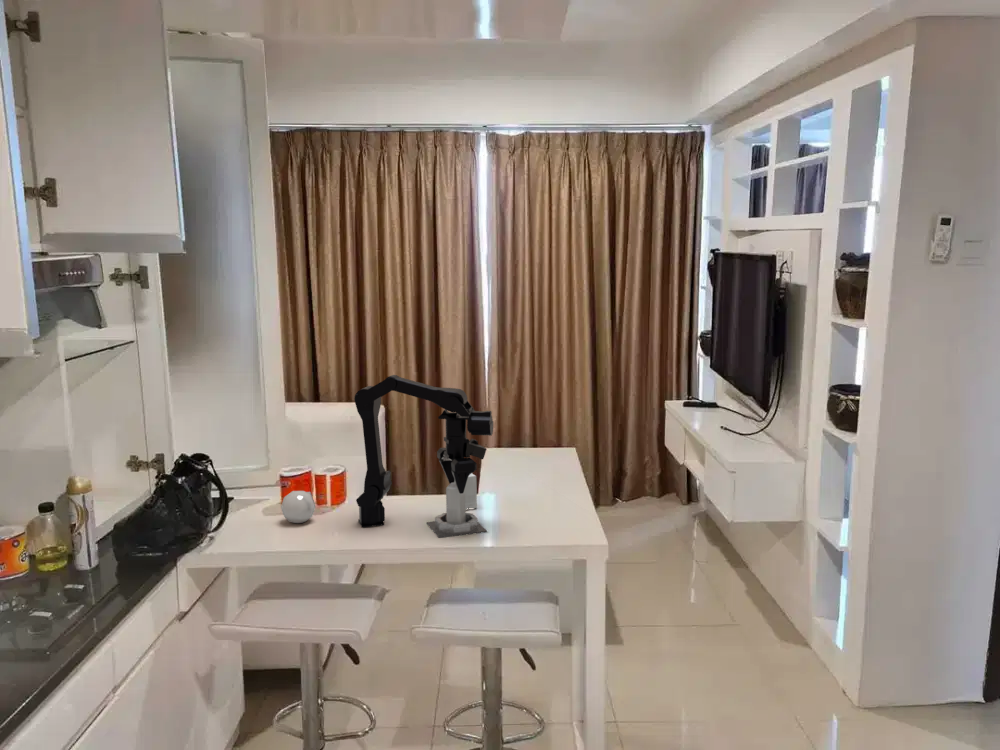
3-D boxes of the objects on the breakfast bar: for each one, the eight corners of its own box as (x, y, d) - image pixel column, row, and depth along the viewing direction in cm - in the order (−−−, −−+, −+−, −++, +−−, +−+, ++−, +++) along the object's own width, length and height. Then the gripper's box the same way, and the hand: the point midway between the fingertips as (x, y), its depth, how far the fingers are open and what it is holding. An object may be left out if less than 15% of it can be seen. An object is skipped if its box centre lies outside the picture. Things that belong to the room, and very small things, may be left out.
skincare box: (451, 522, 217) (451, 482, 215) (465, 523, 216) (465, 482, 214) (446, 529, 211) (445, 487, 209) (460, 530, 210) (460, 488, 209)
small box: (477, 509, 230) (476, 476, 229) (459, 511, 228) (459, 477, 227) (468, 502, 238) (468, 469, 236) (451, 504, 236) (451, 471, 234)
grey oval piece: (290, 533, 213) (300, 522, 228) (319, 512, 214) (326, 503, 229) (270, 507, 212) (281, 498, 227) (299, 486, 213) (308, 478, 228)
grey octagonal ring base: (438, 538, 205) (438, 528, 205) (426, 523, 217) (426, 514, 217) (487, 532, 210) (487, 522, 210) (472, 518, 222) (472, 508, 222)
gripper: (494, 439, 204) (494, 494, 206) (472, 426, 222) (473, 478, 224) (455, 442, 200) (455, 499, 202) (436, 429, 218) (437, 481, 220)
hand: (456, 488), depth 212 cm, fingers open, 9 cm apart
